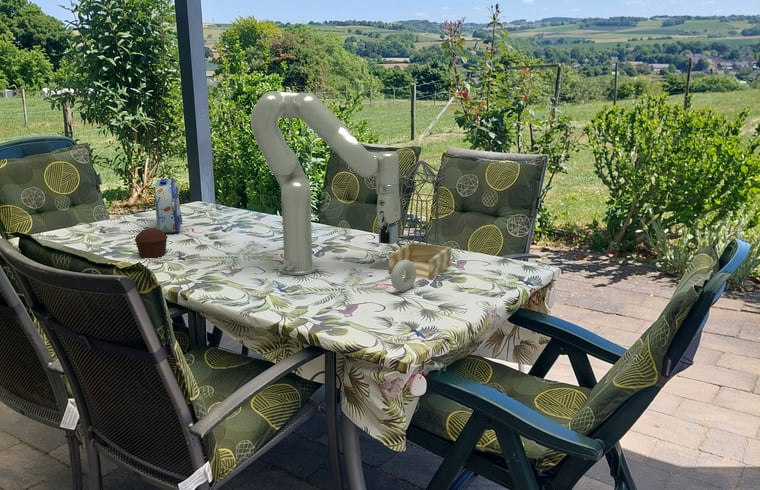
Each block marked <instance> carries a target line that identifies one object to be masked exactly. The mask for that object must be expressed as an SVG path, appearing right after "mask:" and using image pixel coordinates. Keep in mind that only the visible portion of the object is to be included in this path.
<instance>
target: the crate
mask: <svg viewBox="0 0 760 490" xmlns="http://www.w3.org/2000/svg"><path fill="white" fill-rule="evenodd" d="M451 259H452V246H445V245H439V244H437V245H431V244H430V243H429V244H428V243H427V244H426V243H419V242H414V243H413V241H410V243H409V242H408V243H407V244H406V245H405V246H404V245H402V248H400V247H399V249H397V250H395V251H393V252H392V253H390V254H389V255H388V262H389V270H388V274H389V275H391V273H392V270H393V268H394V266H395V265H396V264H397V263H398V262H399V261H401V260H409V261H411V262H412V263H413V264H414V265H415V268H416V279H423V280H428V281H432V280H434V279H435V278H436V277H438V276H439V275H440V274H441V273H443V272H444V271H445V270H447V268H449V267H450V266H451V265H452V264H451V263H452V260H451ZM405 276H406V272H405V271H404V272H403V275H402V277H405Z"/></svg>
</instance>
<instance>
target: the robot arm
mask: <svg viewBox="0 0 760 490" xmlns="http://www.w3.org/2000/svg"><path fill="white" fill-rule="evenodd" d="M280 118H282V119H284V118H286V119H301V121H303V122H304V124H306V125H307V126H308V127H309V128H310V130H312V131H313V132H314V133H315V134H316V135H317V136H318V137H319V138H320V139H321V140H322V141H323V142H324V143H325V144H326V145H327V146H328V147H329V148H330V149H331V150H332V151H334V152H335V153H336V154H337V155H338V156H339V157H340V158H341V159H342V160H343V161H344V162H345V163H346V164H347V165H348V166H349V167H350V168H351V169H352V170H353V171H354V172H355V173H356V174H357V175H358V176H360V177H362V178H370V177H373V176H374V175H375V174H376V175H375V177H376V194H377V202H376V221H377V226H378V230H379V229H380V242H381V243H380V244H382V243H385V244H384V245H390V244H389V243H390V238H389V232H388V230H389V224H398V220H399V219H400V217H401V218H402V215H401V214H400V203H401V197H400V180H399V178H400V177H399V175H400V174H399V172H400V167H399V165H400V164H399V162H400V159H399V157H400V156H399V154H398V153H397V152H396V151H381V152H379V151H378V152H377V151H376V152H375V151H368V150H367V148H365V147H364V145H362V144H361V143H360V142H359V140H358V139H357V138H355V136H354V135H353V134H352V133H351V131H350V130H349V129H348V127H347V125H346V124H344V123H343V122H342V121H341V120H340V119H339V118H338V117H337V116H336V115H335V114H334V113H333V112H332V111H331V110H330V108H328V107H327V106H326V105H325V104H324V103H323V102H322V101H321V100H320V99H319V98H318V97H317V96H316V95H315V94H314V93H312V92H289V91H268V92H266V93H264V94H263V95H261V96H260V98H259V99H258V100H257V102H256V103H255V105H254V107H253V109H252V112H251V115H250V127H251V131H252V134H253V136H254V138H255V141H256V143H257V145H258V148H259V150H260V151H261V154H262V156H263V157H264V160H265V162H266V164H267V168H268V169H269V171H270V172H271V173H272V174H273V175H274V177H275V179H276V181H277V183H278V185H279V187H280V188H281V190H280V191H281V194H280V195H281V197H280V198H281V199H280V200H281V209H282V210H281V215H282V220H281V221H282V239H283V240H282V242H283V261H282V262H283V263H282V264H281V265H278V267H277V271H279V272H280V273H282V274H285V275H289V276H302V275H303V276H305V275H309V274H312V273H313V274H314V273H315V272H316V271H317V270H318V265H317V264H316V263H313V241H312V240H313V239H312V238H313V237H312V191H311V185H310V182H309V179H308V178H307V176H306V174H305V172H304V170H303V167H302V165H301V164H300V161H299V159H298V157H297V155H296V153H295V152H294V150H293V149H292V148H291V147H289V145H288V143H287V142H286V140H285V136H284V135H283V132H282V131H281V128H280V127H279V119H280ZM384 225H386V227H385V226H384Z"/></svg>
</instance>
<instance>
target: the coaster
mask: <svg viewBox="0 0 760 490" xmlns="http://www.w3.org/2000/svg"><path fill="white" fill-rule="evenodd" d="M369 268H370V269H376V270H382V271H383V270H384V271H389V261H385V260H379V261H378V262H377V263H375V264H373V265H372V266H370V267H369Z"/></svg>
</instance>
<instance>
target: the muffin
mask: <svg viewBox="0 0 760 490" xmlns="http://www.w3.org/2000/svg"><path fill="white" fill-rule="evenodd" d="M168 238H169V237H168V236H167V233H164V232H163V231H161V230H160V229H157V227H156V228H155V227H149V228H145V229H142V230H141V231H140V232H138V233H137V235H136V237H135V238H134V241H135V244H136V247H137V251H138V255H139V257H140V258H141V259H143V258H156V259H159V258H158V257H160V258H163V257H164V256H166V251H167V240H168ZM162 256H163V257H162Z"/></svg>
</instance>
